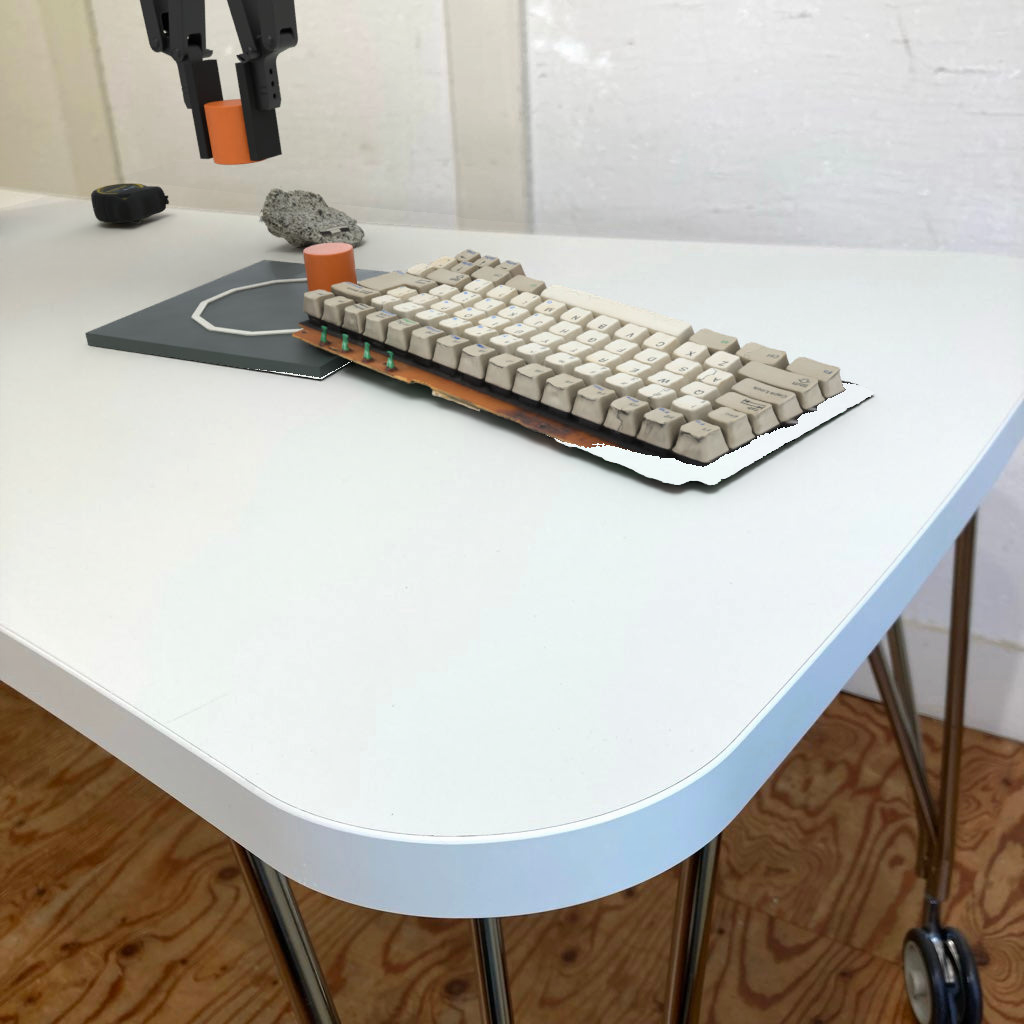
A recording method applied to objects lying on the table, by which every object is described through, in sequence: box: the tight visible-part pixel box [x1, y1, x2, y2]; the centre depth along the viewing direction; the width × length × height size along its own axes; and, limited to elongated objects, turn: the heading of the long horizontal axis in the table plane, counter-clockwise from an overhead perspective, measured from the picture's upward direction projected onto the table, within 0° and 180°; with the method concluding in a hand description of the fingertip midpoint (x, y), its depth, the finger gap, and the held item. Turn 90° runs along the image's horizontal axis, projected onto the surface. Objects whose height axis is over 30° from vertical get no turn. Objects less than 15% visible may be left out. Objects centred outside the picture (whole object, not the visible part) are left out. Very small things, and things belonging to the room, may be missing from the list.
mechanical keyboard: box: [292, 248, 859, 467], centre depth 72 cm, size 38×19×3 cm, turn 46°
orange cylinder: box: [204, 98, 267, 166], centre depth 77 cm, size 4×4×4 cm
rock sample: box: [258, 186, 366, 248], centre depth 106 cm, size 10×8×9 cm
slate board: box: [85, 259, 392, 378], centre depth 86 cm, size 22×22×1 cm
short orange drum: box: [302, 243, 357, 292], centre depth 86 cm, size 4×4×4 cm
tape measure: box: [90, 183, 170, 225], centre depth 119 cm, size 7×7×4 cm
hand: (241, 155), depth 78 cm, fingers closed on orange cylinder, 4 cm apart
